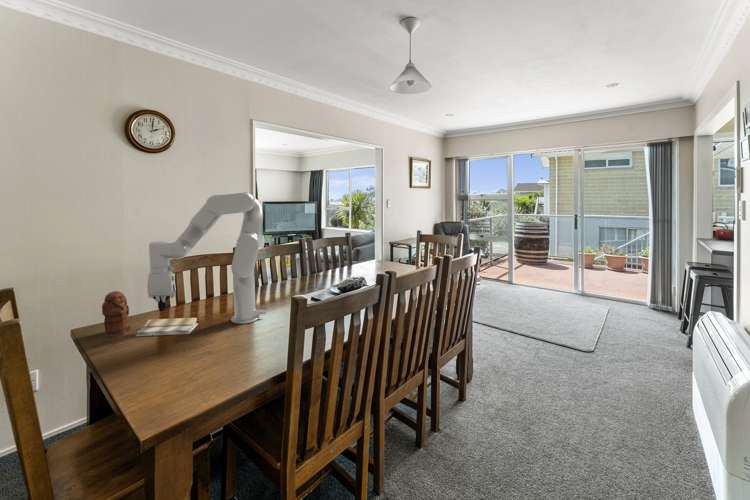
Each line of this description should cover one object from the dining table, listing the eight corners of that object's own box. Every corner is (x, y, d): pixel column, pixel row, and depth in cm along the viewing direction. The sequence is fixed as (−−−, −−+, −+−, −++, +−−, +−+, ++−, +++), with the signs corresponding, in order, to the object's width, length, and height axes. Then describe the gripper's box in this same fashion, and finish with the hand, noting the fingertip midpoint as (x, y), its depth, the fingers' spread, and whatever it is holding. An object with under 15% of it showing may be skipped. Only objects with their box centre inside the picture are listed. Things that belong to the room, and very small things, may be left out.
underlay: (198, 324, 166) (198, 323, 166) (189, 333, 154) (189, 333, 154) (148, 326, 162) (148, 325, 162) (135, 336, 151) (135, 335, 151)
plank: (196, 320, 165) (196, 317, 165) (193, 327, 160) (192, 325, 160) (149, 322, 162) (148, 319, 161) (144, 329, 157) (143, 327, 157)
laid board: (192, 328, 160) (192, 325, 159) (188, 332, 154) (188, 329, 154) (143, 330, 156) (143, 327, 156) (137, 335, 151) (136, 332, 151)
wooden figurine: (120, 337, 150) (116, 295, 147) (103, 338, 149) (98, 295, 146) (133, 326, 161) (130, 287, 158) (117, 327, 160) (113, 288, 157)
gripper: (181, 268, 162) (183, 307, 165) (145, 268, 160) (148, 308, 163) (175, 271, 155) (177, 312, 158) (137, 271, 152) (140, 313, 155)
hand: (162, 310), depth 160 cm, fingers closed
